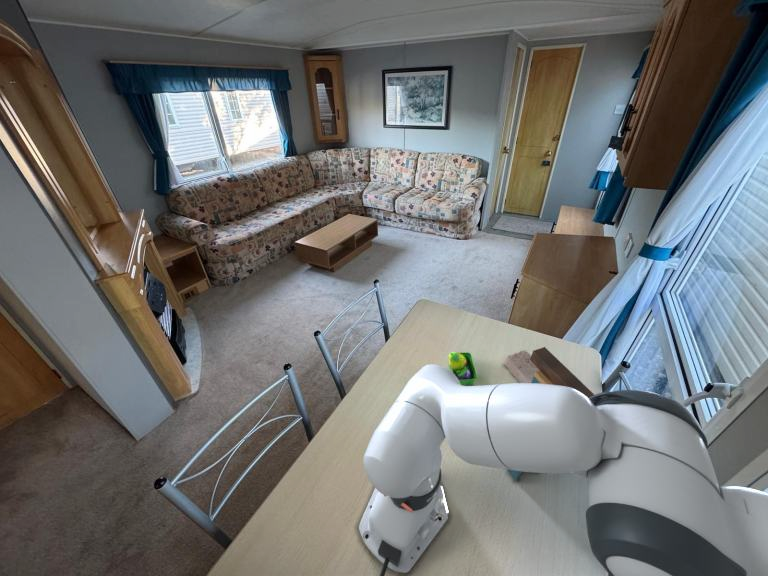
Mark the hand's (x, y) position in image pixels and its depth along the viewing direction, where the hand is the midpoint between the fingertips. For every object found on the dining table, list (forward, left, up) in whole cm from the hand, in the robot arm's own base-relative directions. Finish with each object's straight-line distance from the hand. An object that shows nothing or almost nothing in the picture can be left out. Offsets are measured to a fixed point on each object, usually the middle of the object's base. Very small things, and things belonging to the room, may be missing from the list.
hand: (637, 483), depth 57 cm
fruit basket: (+21, +43, -22) cm, 53 cm away
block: (+10, +14, +4) cm, 18 cm away
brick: (+33, +23, -22) cm, 46 cm away
